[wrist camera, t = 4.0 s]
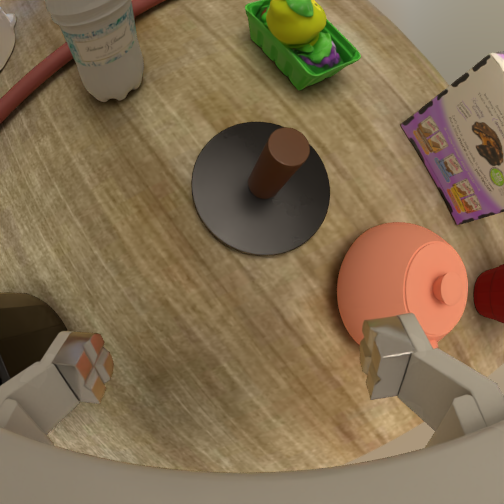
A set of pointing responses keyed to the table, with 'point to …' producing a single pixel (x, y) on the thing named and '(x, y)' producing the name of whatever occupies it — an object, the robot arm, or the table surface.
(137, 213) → the table surface
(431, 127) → the candy box
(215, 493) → the robot arm
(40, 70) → the red brown collared rod
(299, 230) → the lid
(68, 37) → the bottle
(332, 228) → the table surface
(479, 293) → the plastic cup
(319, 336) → the table surface
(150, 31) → the table surface
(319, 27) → the fruit basket
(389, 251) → the sugar bowl
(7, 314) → the faceted dark cup
